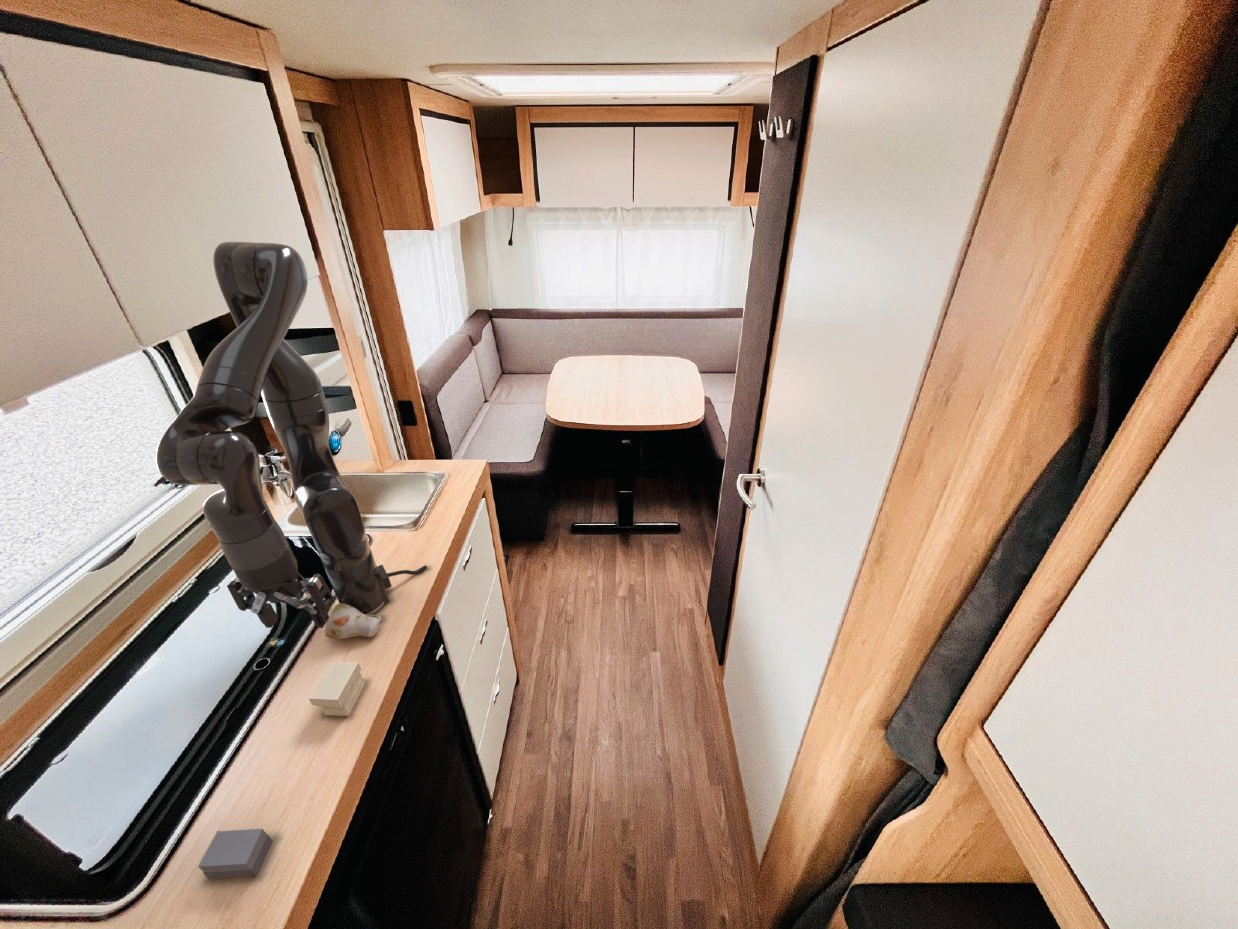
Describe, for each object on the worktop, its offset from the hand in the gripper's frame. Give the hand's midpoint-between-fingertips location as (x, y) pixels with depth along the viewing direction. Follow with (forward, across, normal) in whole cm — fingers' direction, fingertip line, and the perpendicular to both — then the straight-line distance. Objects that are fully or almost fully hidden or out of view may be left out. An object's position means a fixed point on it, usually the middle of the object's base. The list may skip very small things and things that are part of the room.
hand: (297, 623), depth 84 cm
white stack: (+20, -2, +1) cm, 20 cm away
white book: (+16, -2, +1) cm, 16 cm away
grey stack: (+20, +1, +26) cm, 33 cm away
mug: (+21, +3, -15) cm, 26 cm away
